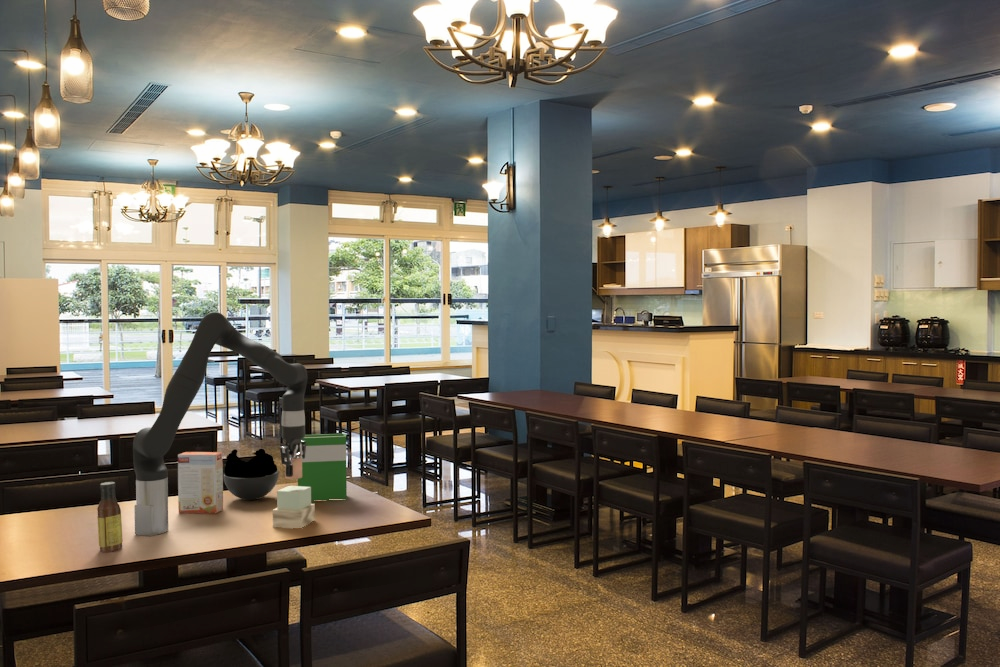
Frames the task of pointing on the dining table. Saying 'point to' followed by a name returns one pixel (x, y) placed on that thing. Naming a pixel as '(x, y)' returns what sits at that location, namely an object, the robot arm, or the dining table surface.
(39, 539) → the dining table surface
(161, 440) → the robot arm
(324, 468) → the hardback book
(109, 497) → the sauce bottle
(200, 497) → the cracker box
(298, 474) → the coral cylinder
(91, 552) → the dining table surface
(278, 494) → the sage block
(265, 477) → the bowl of black rocks
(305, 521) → the birch base block
